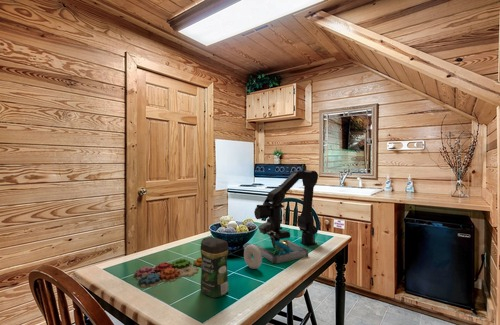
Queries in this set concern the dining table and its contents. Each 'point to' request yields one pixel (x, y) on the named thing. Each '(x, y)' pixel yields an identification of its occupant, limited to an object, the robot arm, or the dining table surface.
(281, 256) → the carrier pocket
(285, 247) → the gear
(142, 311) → the dining table surface
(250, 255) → the donut
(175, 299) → the dining table surface
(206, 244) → the coffee jar
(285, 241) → the gold rounded dome
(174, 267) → the gear puzzle
